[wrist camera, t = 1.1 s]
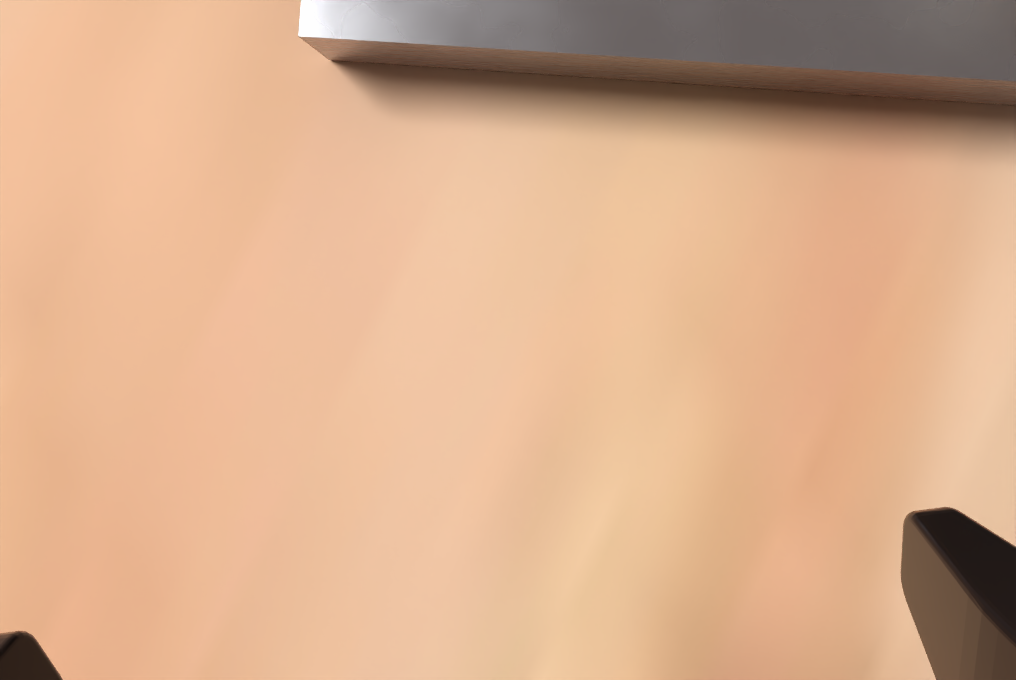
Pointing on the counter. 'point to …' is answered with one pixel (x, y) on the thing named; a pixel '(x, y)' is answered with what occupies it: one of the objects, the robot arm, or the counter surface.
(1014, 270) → the counter surface
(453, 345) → the counter surface
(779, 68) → the grey flat block
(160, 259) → the counter surface
